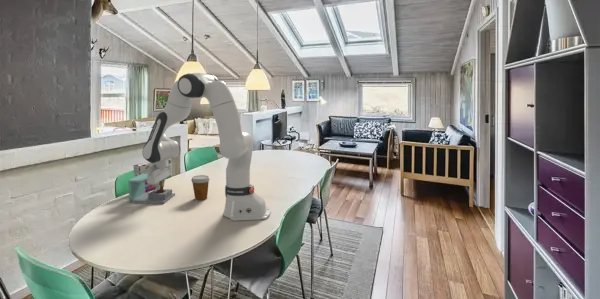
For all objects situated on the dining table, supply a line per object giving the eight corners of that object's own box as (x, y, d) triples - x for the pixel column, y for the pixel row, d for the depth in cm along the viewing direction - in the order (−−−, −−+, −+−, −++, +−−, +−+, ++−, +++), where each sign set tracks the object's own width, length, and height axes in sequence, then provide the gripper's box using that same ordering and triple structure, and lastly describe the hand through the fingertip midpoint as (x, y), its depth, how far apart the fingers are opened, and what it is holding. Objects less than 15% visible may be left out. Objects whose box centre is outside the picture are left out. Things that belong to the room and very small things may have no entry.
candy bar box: (150, 187, 193) (148, 161, 190) (156, 188, 191) (155, 162, 188) (134, 193, 182) (132, 164, 179) (141, 194, 180) (139, 165, 178)
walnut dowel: (164, 194, 174) (163, 175, 172) (162, 196, 170) (160, 176, 169) (158, 194, 174) (157, 175, 172) (156, 196, 170) (154, 176, 169)
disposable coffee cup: (213, 197, 176) (213, 176, 174) (200, 202, 169) (199, 180, 167) (202, 194, 181) (201, 174, 180) (188, 199, 174) (187, 177, 172)
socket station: (175, 195, 179) (174, 174, 177) (164, 203, 165) (162, 181, 163) (143, 194, 180) (142, 173, 178) (129, 202, 166) (128, 180, 164)
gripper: (155, 167, 159) (157, 194, 161) (172, 159, 179) (173, 183, 181) (142, 167, 159) (144, 194, 161) (161, 159, 179) (162, 183, 181)
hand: (160, 188), depth 171 cm, fingers closed on walnut dowel, 3 cm apart
